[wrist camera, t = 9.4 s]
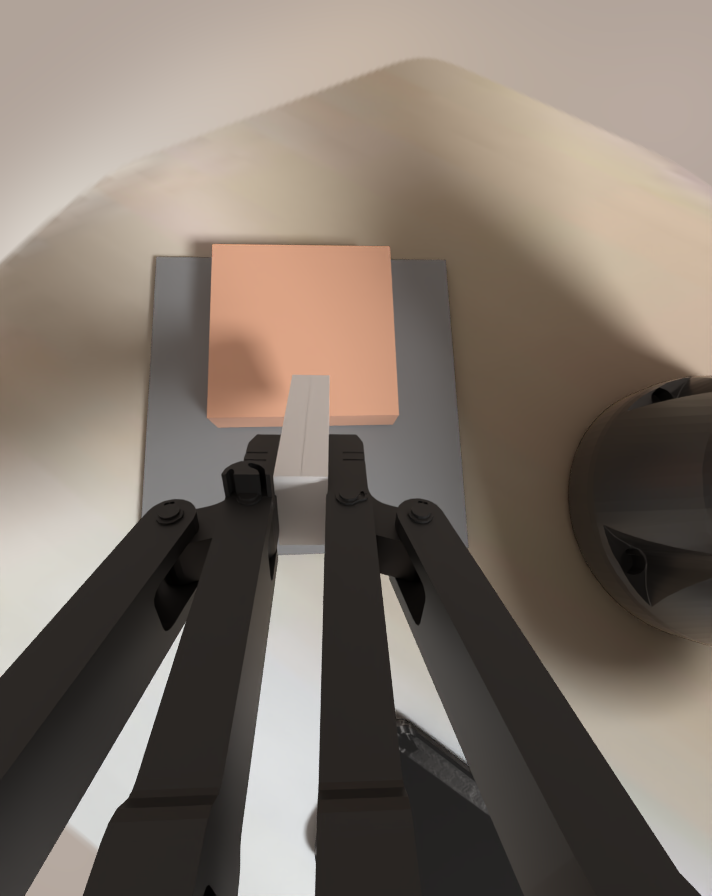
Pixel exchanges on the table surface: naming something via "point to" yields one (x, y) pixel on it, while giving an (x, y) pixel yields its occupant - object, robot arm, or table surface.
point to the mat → (385, 446)
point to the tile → (301, 332)
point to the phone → (450, 823)
